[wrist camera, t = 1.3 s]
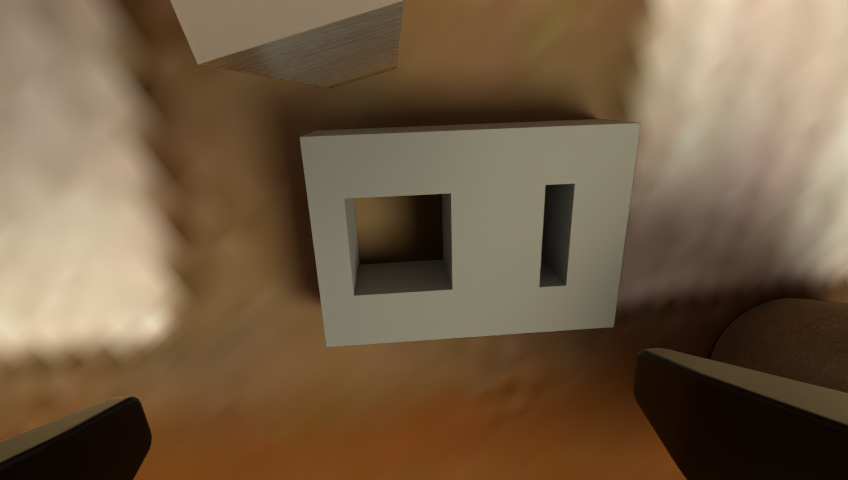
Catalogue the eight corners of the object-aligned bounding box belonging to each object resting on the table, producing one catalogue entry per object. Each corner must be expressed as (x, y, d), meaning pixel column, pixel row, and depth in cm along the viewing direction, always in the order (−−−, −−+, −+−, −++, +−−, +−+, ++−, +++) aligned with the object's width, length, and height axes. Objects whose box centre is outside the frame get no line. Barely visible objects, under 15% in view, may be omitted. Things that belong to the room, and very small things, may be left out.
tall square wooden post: (330, 88, 18) (198, 64, 6) (305, 13, 17) (80, -207, 5) (396, 68, 18) (403, 0, 6) (374, -8, 17) (327, -288, 5)
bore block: (336, 308, 21) (326, 346, 18) (316, 130, 19) (299, 136, 15) (580, 293, 22) (613, 326, 19) (597, 118, 19) (640, 122, 16)
